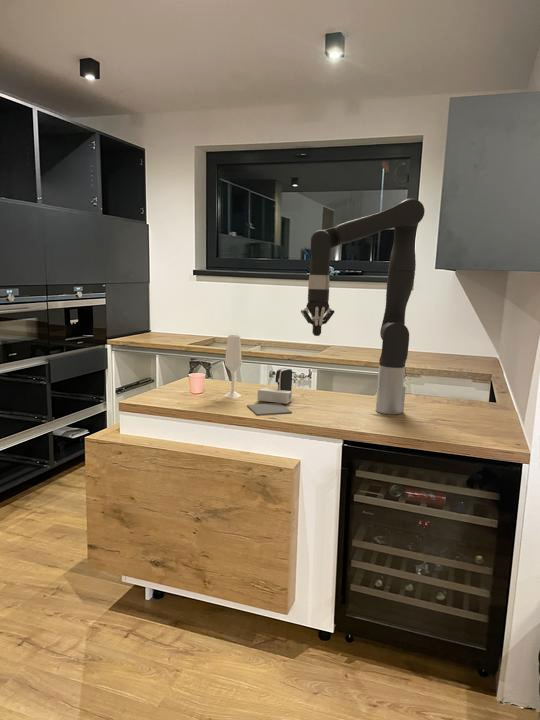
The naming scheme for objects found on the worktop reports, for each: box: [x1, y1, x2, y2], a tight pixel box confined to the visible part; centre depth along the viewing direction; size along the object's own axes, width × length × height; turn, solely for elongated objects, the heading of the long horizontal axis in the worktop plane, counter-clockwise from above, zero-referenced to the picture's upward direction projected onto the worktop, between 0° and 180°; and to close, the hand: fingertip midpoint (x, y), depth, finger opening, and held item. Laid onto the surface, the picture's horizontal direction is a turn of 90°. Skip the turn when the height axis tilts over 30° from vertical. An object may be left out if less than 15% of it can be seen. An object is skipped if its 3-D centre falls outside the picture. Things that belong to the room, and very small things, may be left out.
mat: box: [246, 402, 293, 416], centre depth 189 cm, size 13×12×1 cm
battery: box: [275, 367, 293, 391], centre depth 207 cm, size 7×4×11 cm, turn 139°
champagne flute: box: [224, 334, 243, 399], centre depth 205 cm, size 7×7×24 cm
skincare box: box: [256, 387, 293, 405], centre depth 200 cm, size 6×4×12 cm
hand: (316, 335), depth 190 cm, fingers closed
